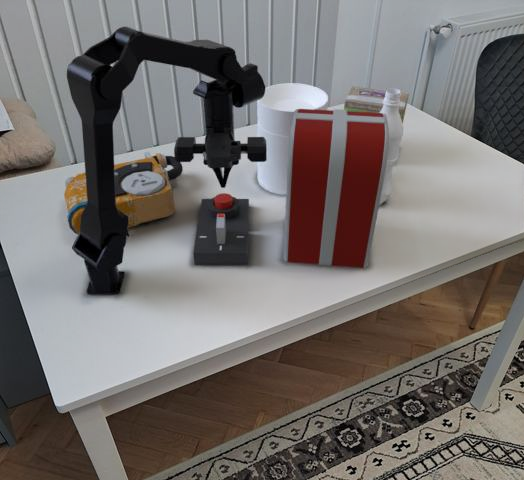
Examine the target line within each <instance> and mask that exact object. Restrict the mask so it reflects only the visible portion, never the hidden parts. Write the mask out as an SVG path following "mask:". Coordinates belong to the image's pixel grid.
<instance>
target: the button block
mask: <svg viewBox="0 0 524 480" xmlns="http://www.w3.org/2000/svg"><path fill="white" fill-rule="evenodd" d="M232 197H233V206H232V207H231V208H228V209H219V208H216V207H215V196H214V197H212V198H201V201H200V207H199V215H198V222H197V223H217V214H225V223H248V232H249V230H250V229H249V227H250V224H249V223H250V199H249V198H237V197H235V196H232Z"/></svg>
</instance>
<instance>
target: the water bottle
mask: <svg viewBox="0 0 524 480" xmlns="http://www.w3.org/2000/svg"><path fill="white" fill-rule="evenodd" d="M385 91H386V94H385V98H384V100H383V104H384V105H383V108H382V109H381V111H380V113H382V114H383V113H384V114H385V115H386V116H387V120H388V127H389V149H388V158H387V165H386V171H385V177H384V183H383V188H382V193H381V198H380V204H379V206H380V205H381V206H382V204H383V203H386V202H387V201H388V200H389V199H390V196H391V194H392V190H393V187H392V173H393V168H394V166H395V164H396V163H397V161H398V159H399V156H400V148H401V143H402V139H403V135H404V125H403V124H404V123H403V124H402V120H401V117H400V114H399V105H400V95H401V93H402V92H401V90H400V89H398V88H392V87H391V88H387V89H386V90H385Z"/></svg>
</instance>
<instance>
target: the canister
mask: <svg viewBox="0 0 524 480" xmlns="http://www.w3.org/2000/svg"><path fill="white" fill-rule="evenodd" d="M328 106H329V95H328V94H327V92H326V91H325V90H322V89H321V88H319V87H316V86H314V85H312V84H305V83H299V82H298V83H296V82H287V83H277V84H272V85H268V86H266V87H265V94H264V96H263V98H261V99H260V100H257V101H256V114H257V115H256V116H257V122H256V123H257V125H256V126H257V127H256V129H257V131H256V135H257V136H256V137H264V138H265V139H266V147H267V161H265V162H257V181H258V184H259V185H260V186H261V187H262V188H263V189H264V190H266V191H267V192H270V193H272V194H277V195H280V196H286V188H287V165H288V149H289V137H290V130H291V123H292V117H293V113H294V111H295V110H296V109H298V110H299V109H312V110H328Z"/></svg>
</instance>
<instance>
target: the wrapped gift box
mask: <svg viewBox="0 0 524 480" xmlns="http://www.w3.org/2000/svg"><path fill="white" fill-rule="evenodd" d="M388 149H389V127H388V120H387V116H386V115H385V114H384V113H383V114H382V113H371V112H352V111H347V110H344V109H339V108H334V109H333V110H329V109H327V110H312V109H299V110H298V109H296V110H295V111H294V113H293V117H292V123H291V130H290V137H289V149H288V165H287V188H286V195H285V215H284V239H283V261H284V262H285V263H295V264H307V265H310V264H311V265H319V266H328V267H331V266H334V267H349V268H363V269H364V268H368V265H369V262H370V257H371V251H372V247H373V241H374V235H375V230H376V225H377V219H378V215H379V209H380V205H379V204H380V198H381V193H382V188H383V183H384V177H385V171H386V165H387V158H388Z"/></svg>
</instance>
